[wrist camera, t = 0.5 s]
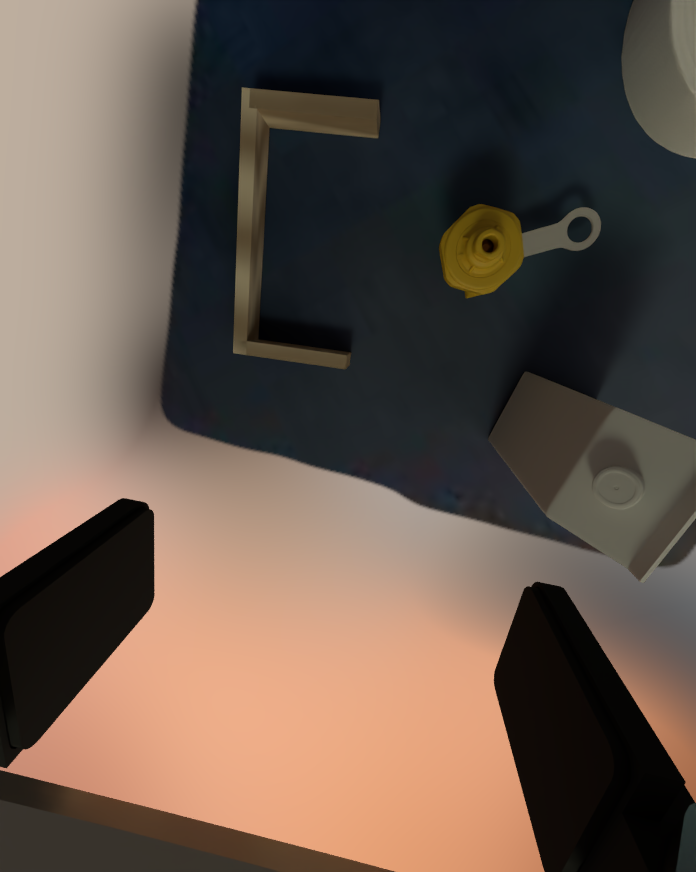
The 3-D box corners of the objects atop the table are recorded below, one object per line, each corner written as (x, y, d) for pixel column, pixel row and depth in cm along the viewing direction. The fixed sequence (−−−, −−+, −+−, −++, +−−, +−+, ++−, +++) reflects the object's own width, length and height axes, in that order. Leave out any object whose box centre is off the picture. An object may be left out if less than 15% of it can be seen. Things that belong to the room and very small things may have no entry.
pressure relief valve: (426, 239, 32) (440, 207, 23) (578, 195, 30) (663, 138, 21) (438, 306, 34) (455, 301, 24) (584, 268, 32) (666, 246, 22)
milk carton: (596, 400, 35) (816, 489, 16) (554, 467, 37) (708, 610, 19) (524, 370, 35) (664, 426, 16) (486, 439, 37) (574, 555, 19)
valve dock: (256, 108, 31) (241, 87, 28) (380, 120, 30) (378, 100, 27) (245, 350, 37) (233, 352, 34) (349, 365, 36) (345, 369, 33)
